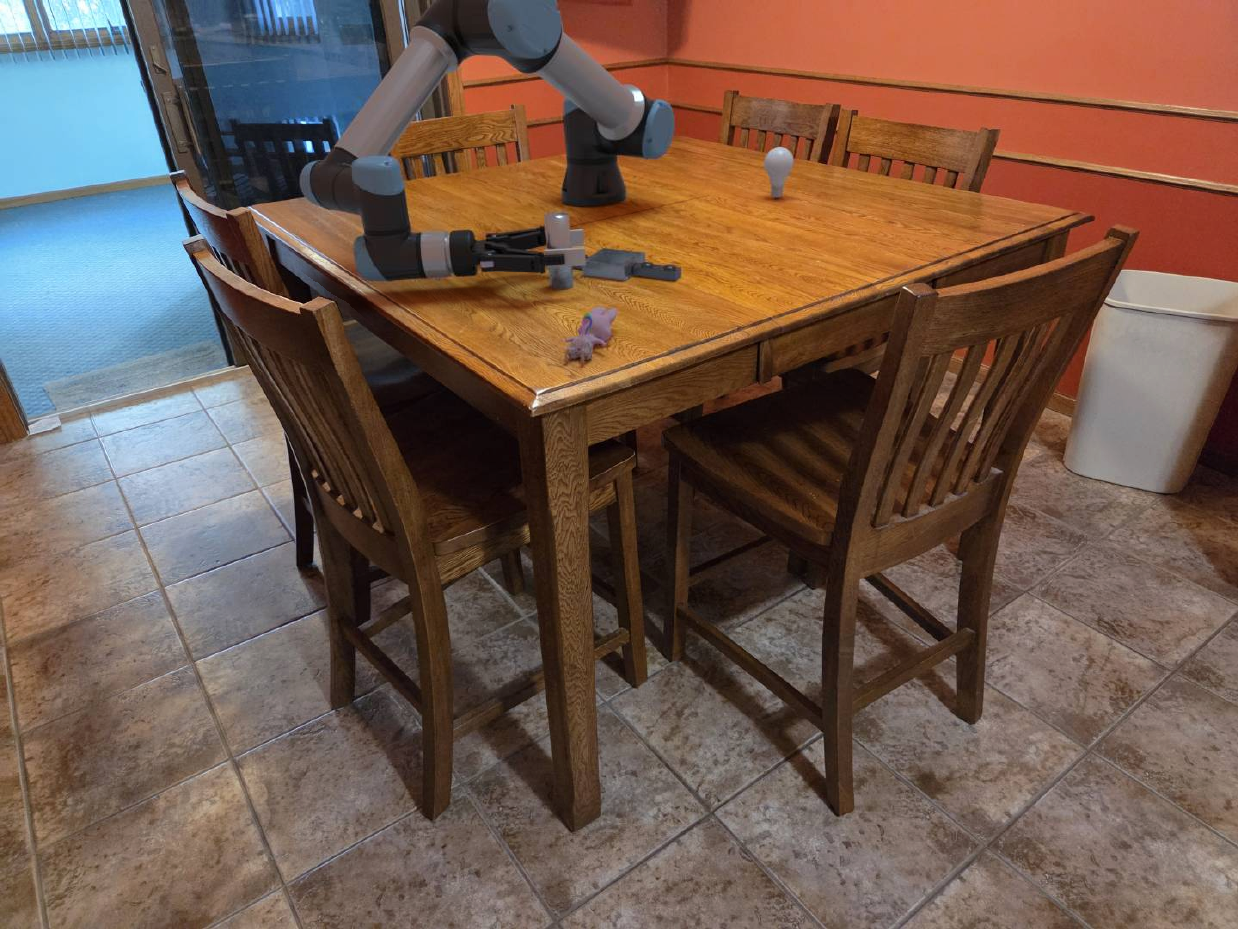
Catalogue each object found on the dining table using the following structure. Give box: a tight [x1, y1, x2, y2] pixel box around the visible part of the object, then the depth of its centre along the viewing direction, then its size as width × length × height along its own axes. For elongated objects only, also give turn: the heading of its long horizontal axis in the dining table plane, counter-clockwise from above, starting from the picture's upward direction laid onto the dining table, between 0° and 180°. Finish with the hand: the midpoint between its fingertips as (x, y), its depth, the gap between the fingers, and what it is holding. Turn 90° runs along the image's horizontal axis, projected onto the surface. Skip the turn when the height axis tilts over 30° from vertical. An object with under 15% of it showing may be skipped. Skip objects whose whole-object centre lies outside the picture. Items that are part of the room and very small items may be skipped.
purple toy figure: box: [563, 306, 618, 366], centre depth 116 cm, size 6×6×15 cm
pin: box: [543, 211, 575, 290], centre depth 136 cm, size 4×4×12 cm
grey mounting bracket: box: [572, 247, 682, 282], centre depth 144 cm, size 25×8×2 cm, turn 63°
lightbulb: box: [764, 146, 794, 200], centre depth 181 cm, size 6×6×11 cm
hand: (584, 246), depth 136 cm, fingers open, 10 cm apart
